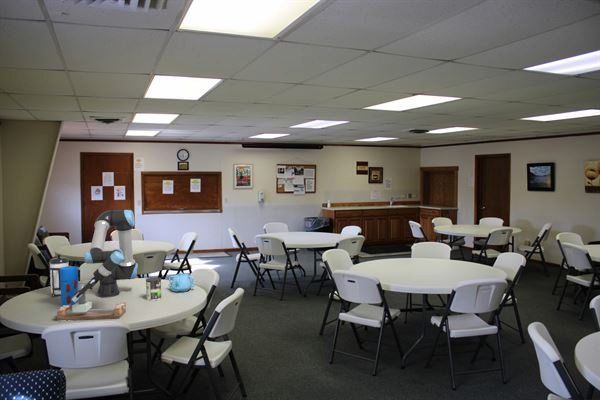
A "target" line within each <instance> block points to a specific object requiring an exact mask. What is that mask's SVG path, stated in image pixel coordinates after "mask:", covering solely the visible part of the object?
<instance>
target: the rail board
mask: <svg viewBox="0 0 600 400" xmlns="http://www.w3.org/2000/svg"><path fill="white" fill-rule="evenodd" d="M126 303H127V302H120V303H117V304H115V308H95V309H92V308H91V309H89V310H88V311H87V312H74V313H72V305H66V306H62V305H60V307H59V309H58V310H56V317H57V320H66V321H65V322H67V321H68V320H73V321H92V320H93V321H95V320H117V319H119V320H120V319H121V318H122V316H123V315H125V314H126V313H127V307H126ZM57 320H56V321H57Z"/></svg>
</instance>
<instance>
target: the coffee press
mask: <svg viewBox="0 0 600 400" xmlns="http://www.w3.org/2000/svg"><path fill="white" fill-rule="evenodd" d="M69 261H70V260H69V259H68V258H67V257H65V256H62V257H61V254H59V253H58V254H57V257H54V258H51V259H50V260H49V262H48V264H49V273H50V274H49V277H50V293H51V295H52V296H53V295H55V296H56V295H61V286H60V268H63V267H70V266H69V263H70V262H69Z"/></svg>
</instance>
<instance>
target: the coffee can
mask: <svg viewBox="0 0 600 400" xmlns="http://www.w3.org/2000/svg"><path fill="white" fill-rule="evenodd" d="M145 289H146V291H145V292H146V295H145V296H146V299H145V300H146V301H149V302H150V301H152V302H153V301H159V300H161V299H162V278H161V277H149V278H146V279H145Z"/></svg>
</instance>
